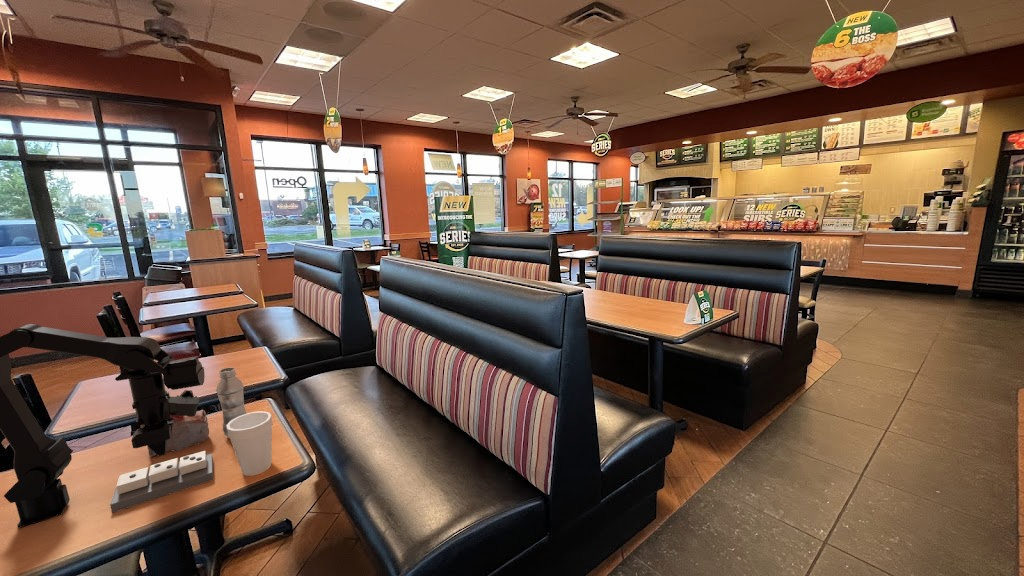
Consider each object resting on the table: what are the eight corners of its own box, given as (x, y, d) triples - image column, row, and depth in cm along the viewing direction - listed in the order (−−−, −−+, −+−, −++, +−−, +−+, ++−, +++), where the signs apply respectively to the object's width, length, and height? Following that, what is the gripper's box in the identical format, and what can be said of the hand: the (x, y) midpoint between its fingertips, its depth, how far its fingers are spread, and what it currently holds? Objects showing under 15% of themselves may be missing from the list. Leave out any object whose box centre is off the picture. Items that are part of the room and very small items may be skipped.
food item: (210, 431, 123) (205, 400, 121) (211, 443, 116) (205, 411, 114) (150, 448, 115) (143, 415, 113) (147, 461, 109) (139, 427, 107)
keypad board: (112, 512, 90) (110, 504, 90) (119, 488, 98) (118, 480, 98) (213, 479, 100) (211, 472, 100) (213, 460, 108) (211, 453, 108)
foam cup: (286, 462, 107) (279, 415, 104) (251, 483, 98) (242, 433, 96) (262, 453, 111) (255, 408, 108) (226, 474, 102) (217, 425, 100)
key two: (150, 483, 95) (148, 475, 95) (152, 472, 99) (150, 464, 99) (177, 475, 98) (176, 466, 98) (179, 465, 102) (177, 457, 102)
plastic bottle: (238, 441, 117) (227, 375, 113) (218, 439, 118) (206, 373, 114) (256, 429, 123) (246, 366, 119) (237, 428, 124) (226, 364, 120)
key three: (180, 475, 98) (179, 466, 98) (181, 465, 102) (180, 456, 102) (206, 467, 101) (205, 459, 101) (206, 457, 105) (205, 449, 105)
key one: (117, 494, 92) (115, 485, 92) (121, 482, 96) (119, 474, 96) (147, 485, 95) (145, 476, 94) (150, 474, 99) (148, 466, 98)
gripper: (192, 397, 92) (204, 461, 95) (194, 372, 107) (204, 427, 110) (124, 413, 85) (139, 480, 88) (137, 383, 100) (149, 442, 103)
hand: (162, 455), depth 98 cm, fingers closed
